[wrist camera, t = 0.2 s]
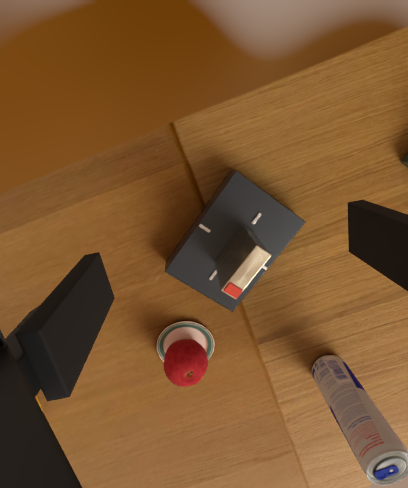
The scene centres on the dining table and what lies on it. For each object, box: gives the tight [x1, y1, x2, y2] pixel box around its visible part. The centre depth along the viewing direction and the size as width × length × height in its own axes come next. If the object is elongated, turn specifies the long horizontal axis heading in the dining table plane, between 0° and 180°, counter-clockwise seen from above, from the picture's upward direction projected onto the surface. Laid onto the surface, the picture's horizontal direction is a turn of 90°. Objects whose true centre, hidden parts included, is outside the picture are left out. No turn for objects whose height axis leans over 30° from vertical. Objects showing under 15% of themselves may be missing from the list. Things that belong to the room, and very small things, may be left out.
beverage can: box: [312, 355, 408, 485], centre depth 37 cm, size 5×5×15 cm
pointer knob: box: [215, 225, 271, 299], centre depth 30 cm, size 6×2×7 cm, turn 145°
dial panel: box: [165, 169, 305, 312], centre depth 35 cm, size 14×10×3 cm
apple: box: [157, 321, 214, 386], centre depth 38 cm, size 8×8×6 cm
